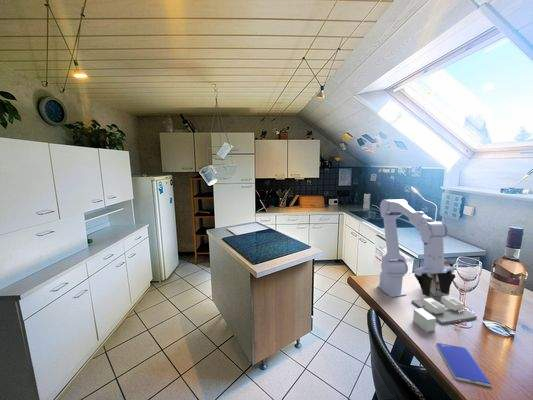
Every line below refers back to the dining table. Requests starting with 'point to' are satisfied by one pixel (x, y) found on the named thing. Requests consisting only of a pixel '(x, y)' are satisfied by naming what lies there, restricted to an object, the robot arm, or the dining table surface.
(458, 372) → the hard drive
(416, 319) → the block
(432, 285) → the coffee box
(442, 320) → the board
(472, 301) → the dining table surface
